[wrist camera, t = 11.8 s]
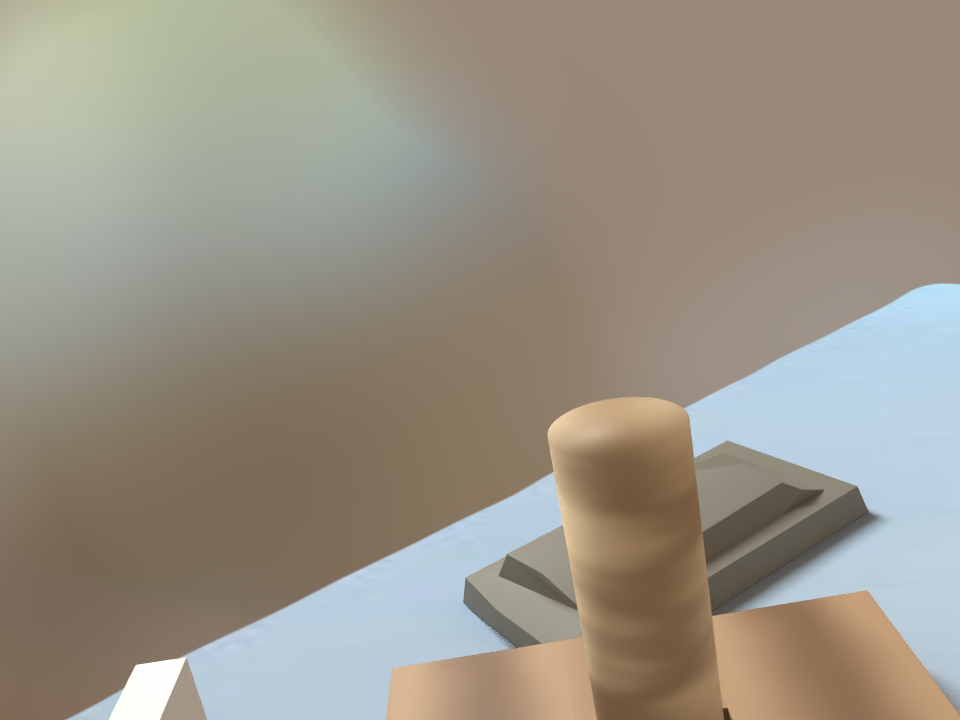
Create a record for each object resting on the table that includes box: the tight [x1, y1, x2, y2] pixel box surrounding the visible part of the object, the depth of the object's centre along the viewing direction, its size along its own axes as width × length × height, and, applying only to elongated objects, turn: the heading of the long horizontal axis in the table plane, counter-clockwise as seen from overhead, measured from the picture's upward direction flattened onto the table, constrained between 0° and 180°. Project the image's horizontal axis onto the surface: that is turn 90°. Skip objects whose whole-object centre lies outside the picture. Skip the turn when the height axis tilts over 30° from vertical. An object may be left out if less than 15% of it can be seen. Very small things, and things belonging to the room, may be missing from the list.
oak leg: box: [548, 397, 724, 720], centre depth 28 cm, size 4×4×16 cm
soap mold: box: [463, 441, 868, 648], centre depth 46 cm, size 10×20×4 cm, turn 122°
